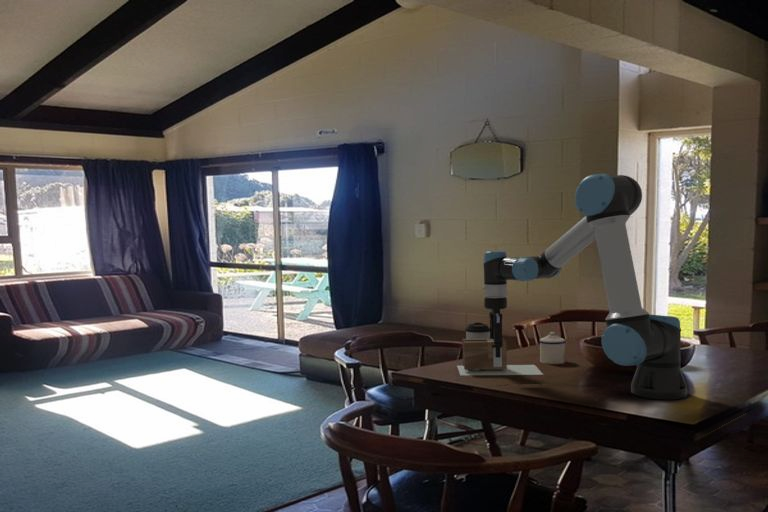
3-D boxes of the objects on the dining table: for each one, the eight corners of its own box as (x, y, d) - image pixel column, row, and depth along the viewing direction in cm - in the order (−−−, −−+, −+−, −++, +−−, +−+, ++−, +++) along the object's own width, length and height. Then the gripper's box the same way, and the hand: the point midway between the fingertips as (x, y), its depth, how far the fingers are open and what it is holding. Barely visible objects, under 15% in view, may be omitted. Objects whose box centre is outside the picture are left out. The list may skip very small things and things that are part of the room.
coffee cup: (490, 368, 237) (489, 325, 236) (464, 367, 238) (464, 325, 238) (491, 363, 245) (491, 322, 245) (466, 362, 247) (466, 322, 247)
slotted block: (506, 368, 224) (506, 341, 224) (464, 369, 225) (464, 342, 224) (503, 364, 231) (503, 338, 231) (463, 365, 232) (462, 339, 231)
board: (543, 378, 219) (543, 360, 219) (460, 378, 220) (460, 361, 220) (534, 368, 235) (534, 352, 235) (457, 368, 236) (456, 352, 236)
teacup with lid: (570, 366, 237) (570, 333, 236) (546, 368, 235) (545, 334, 235) (555, 360, 249) (554, 328, 248) (532, 361, 247) (531, 330, 246)
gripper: (481, 294, 237) (482, 358, 238) (487, 299, 217) (488, 370, 218) (502, 293, 237) (503, 358, 237) (510, 299, 217) (511, 370, 218)
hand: (496, 364), depth 228 cm, fingers closed on slotted block, 7 cm apart
